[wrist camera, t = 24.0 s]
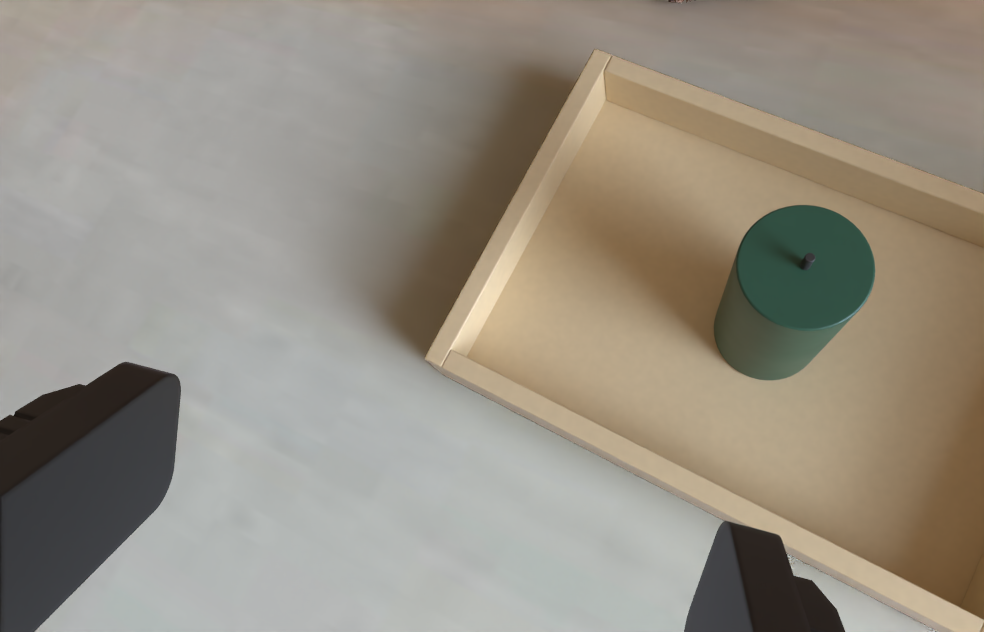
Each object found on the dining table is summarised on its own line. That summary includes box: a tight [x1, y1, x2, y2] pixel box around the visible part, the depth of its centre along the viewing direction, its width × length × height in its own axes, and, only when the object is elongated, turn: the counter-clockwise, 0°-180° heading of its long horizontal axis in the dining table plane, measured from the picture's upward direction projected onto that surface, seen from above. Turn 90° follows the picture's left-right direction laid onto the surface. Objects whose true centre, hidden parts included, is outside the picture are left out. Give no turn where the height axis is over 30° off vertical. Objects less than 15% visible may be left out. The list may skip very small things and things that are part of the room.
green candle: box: [714, 205, 875, 380], centre depth 28 cm, size 4×4×9 cm
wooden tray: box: [424, 49, 984, 632], centre depth 32 cm, size 22×15×3 cm
